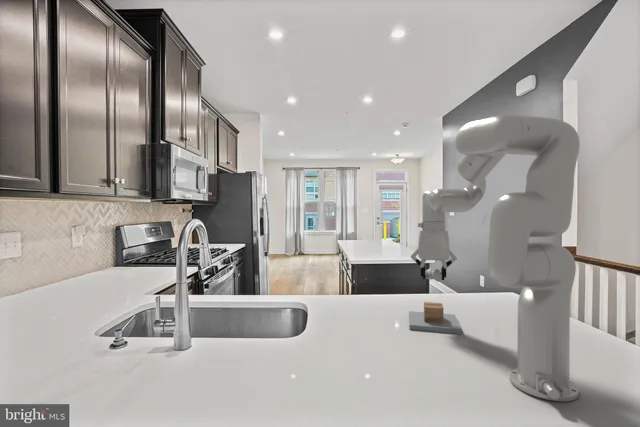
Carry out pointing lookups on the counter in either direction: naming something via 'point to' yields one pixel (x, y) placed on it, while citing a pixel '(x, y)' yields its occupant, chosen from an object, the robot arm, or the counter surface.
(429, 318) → the walnut brick
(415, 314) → the base board
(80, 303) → the counter surface
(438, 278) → the smooth white sculpture
